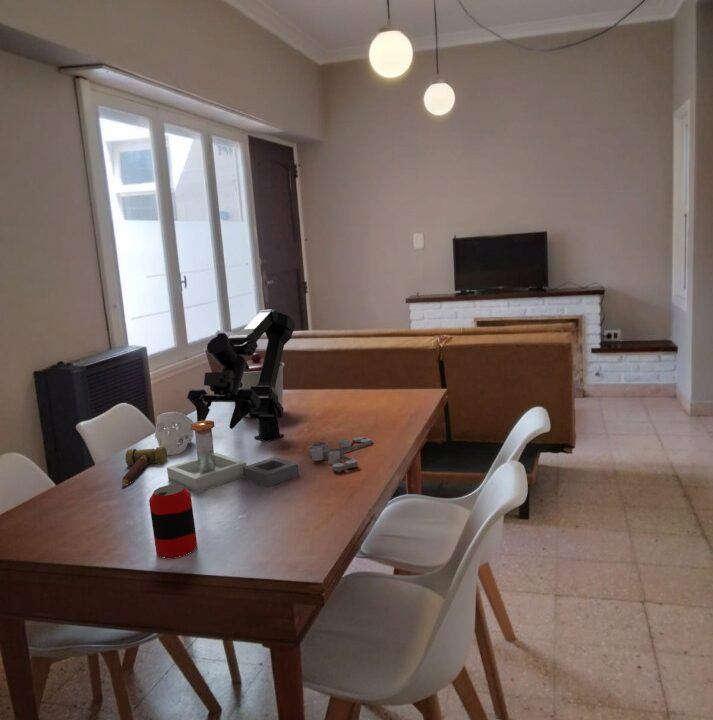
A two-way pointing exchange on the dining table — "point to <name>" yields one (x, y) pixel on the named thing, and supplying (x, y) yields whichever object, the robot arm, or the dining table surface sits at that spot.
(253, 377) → the canister
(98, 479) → the dining table surface
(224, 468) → the tray
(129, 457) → the gavel
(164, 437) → the skull bowl
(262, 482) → the pin socket
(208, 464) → the pin
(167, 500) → the soda can
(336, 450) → the pulley system
